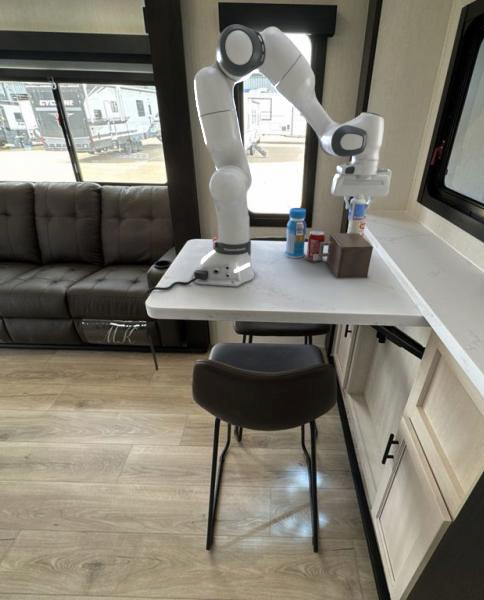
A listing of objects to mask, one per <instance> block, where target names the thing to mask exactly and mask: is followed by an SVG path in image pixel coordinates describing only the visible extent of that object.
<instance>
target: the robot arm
mask: <svg viewBox="0 0 484 600" xmlns="http://www.w3.org/2000/svg"><path fill="white" fill-rule="evenodd" d="M253 73H258V74H261V75H262V76H263V77H265V78H266V79H267V80H268V82H269V83H270V85H271V86H272V87H273V88H274V89H275V91H276V92H277V93H278V94H279V95H280V96H281V97H282V98H283V99H284V100H285V101H286V102H287V103H289V104H290V105H291V106H292V107H293V108H294V109H296V111H297V112H299V113H300V114H301V116H302V117H303V119H304V120H305V121H306V122H307V123H308V125H309V126H310V127H311V129H312V130H313V131H314V132H315V134H316V137H317V139H318V144H319V147H320V149H321V151H322V152H323V153H324V154H326V155H328V156H334V157H337V158H348V157H351V160H350V161H348V162H345V163H342V164H338V165H337V166H336V172H337V173H335V175H334V177H333V180H332V184H331V188H330V189H331V190H330V193H331V194H332V196H333V197H343V200H344V202H345V209H346V210H349V209H351V204H350V202H349V200H350V198H352V197H353V198H354V197H357V196H359V194H363V196H364V197H365V198H367V201H366V205H365V210H370V205H371V204H372V203H373V201H374V200H375V198H385V197H387V196H388V195H389V192H390V184H391V179H392V174H393V173H392V171H391V170H390V169H389V168H379V167H378V166H379V160H380V150H381V148H382V144H383V140H384V132H385V119H384V117H383V116H382V115H381V114H379V113H375V112H370V111H363V112H361V113H360V114H359V115H358V116H356V117H354V118H353V119H350V120H348V121H346V122H344V123H338V122H336V121H334V120H333V119H332V118H331V117H330V115H328V113H327V111H326V110H325V108H324V107H323V106H322V105H321V103H320V102H319V100H318V98H317V96H316V95H317V94H316V91H315V90H316V88H315V87H316V75H315V73H314V71H313V69H312V67H311V65H310V63H309V61H308V60H307V59H306V57H305V56H304V54H303V53H302V52H301V50H300V49H299V48H298V47H297V46H296V44H295V43H294V42H293V41H292V40H291V39H290V38H289V37H288V36H287V35H286V34H285V33H284V32H283V31H282V30H280V28H278V27H276V26H268V27H266V28H265V29H263V30H262V31H261V32H259V31H257V30H254V29H251V28H249V27H248V26H245V25H243V24H238V23H235V24H230V25H228V26H227V27H225V28H224V29H223V31H221V33H220V35H219V37H218V40H217V43H216V47H215V54H214V62H213V64H211V65H210V66H205V67H202V68H201V69H200V70H198V71H197V72H196V74H195V75H194V79H193V86H194V96H195V104H196V109H197V114H198V118H199V123H200V126H201V130H202V131H201V132H202V135H203V139H204V143H205V147H206V149H207V150H208V152H209V154H210V157H211V160H212V161H213V164H214V167H215V171H214V172H213V173H212V176H211V178H210V179H209V180H210V181H209V192H210V195H211V197H212V202H213V205H214V209H215V214H216V221H217V235H218V237H217V236H214V237H213V238H212V250H210V251H209V252H208V253H206V254H205V255H203V257H202V258H201V260H200V262H199V267H197V268H196V269H195V271H193V278H192V279H190V280H189V281H174V282H172V283H171V284H170V285H169V286H165V287H163V286H162V287H160V286H154V287H150V288H148V290H146V292H145V293H146V294H150V293H151V292H153V291H168V290H170V289H172V288H174V286H176V285H183V286H187V285H190V284H192V283H193V282H195V283H196V284H198V285H206V286H207V285H209V286H221V287H235V288H236V287H239V286H240V285H242V284H244V283H247V282H249V281H252V279H253V278H254V277H255V272H254V269H253V265H252V257H251V256H252V240H251V237H250V214H249V208H248V207H249V206H248V197H247V195H248V191H249V190H250V188H251V186H252V173H251V169H250V165H249V161H248V157H247V155H246V150H245V148H244V147H245V146H244V145H243V141H242V140H243V139H242V135H241V130H240V125H239V119H238V114H237V113H238V112H237V110H236V108H237V107H236V104H235V98H234V88H235V87H237V86H238V85H240V84H242V83H244V82H245V81H246V80H247V79H249V78H250V76H251V75H252V74H253ZM147 338H148V342H149V346H150V351H151V354H152V358H153V362H154V366H155V367H154V368H155V371H159V365H158V359H157V355H156V351H155V347H154V344H153V341H152V335H151V334H147Z"/></svg>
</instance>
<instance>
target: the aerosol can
mask: <svg viewBox="0 0 484 600" xmlns="http://www.w3.org/2000/svg"><path fill="white" fill-rule="evenodd" d="M366 220H367V216H366V215H365V214H364V217H363V221H361V222H353V221H350V220H348V227H347V232H346V233H359V234H360V235H361V236H362V237H363V238H364V232H365V228H366V227H365V226H366Z"/></svg>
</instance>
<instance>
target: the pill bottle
mask: <svg viewBox="0 0 484 600" xmlns="http://www.w3.org/2000/svg"><path fill="white" fill-rule="evenodd" d="M365 198H366V197H364V196H363V194H359V196H357V197H353V198H351V199H350V202H349V203H350V204H351V209H348V217H347V218H348V219H347V220H348V221H349V220H350V221H353V222H361V221H363V217H364V215H365V211H366V209H365V205H366V203H367V200H366V199H365Z"/></svg>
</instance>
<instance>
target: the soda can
mask: <svg viewBox="0 0 484 600" xmlns="http://www.w3.org/2000/svg"><path fill="white" fill-rule="evenodd" d="M324 234H325V232H324V231H323V230H322V231H321V230H311V231H310V233H309V235H308V238H307V250H306V259H307V260H308V261H310V262H313V263H316V262H317V263H318V262H321V261H322V260H323V258H324V257H319V248H320V242H326V241H325V240H326V236H325V235H324ZM324 249H325V246H323V248H322V253H324Z"/></svg>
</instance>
